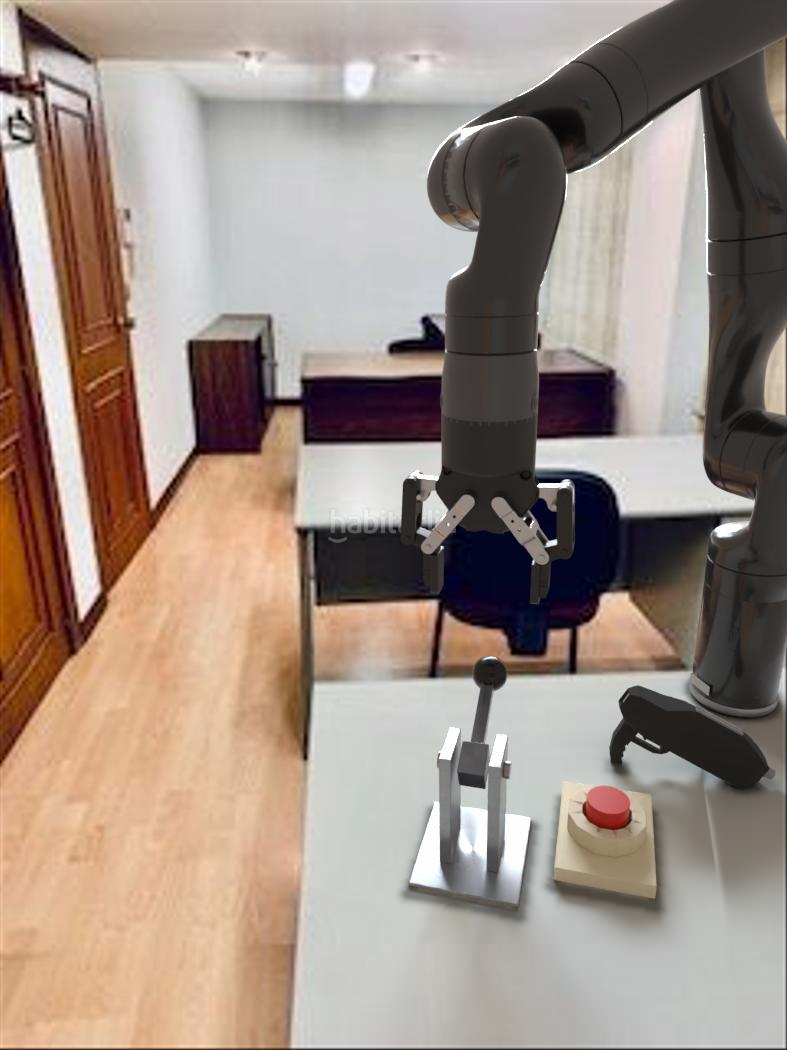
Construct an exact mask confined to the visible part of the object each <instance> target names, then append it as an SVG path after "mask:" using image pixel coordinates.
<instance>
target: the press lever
mask: <svg viewBox="0 0 787 1050" xmlns="http://www.w3.org/2000/svg"><path fill="white" fill-rule="evenodd" d="M471 675H472V680H473V683H474V684H475V685H476V686H477V687H478V688H479V693H478V699H477V705H476V710H475V715H474V721H473V726H472V731H471V736H470V741H469V740H468V741H467V740H462V741H461V752H460V758H459V763H458V768H457V774H458V780H459V785H461V787H462V786H463V787H468V788H476V789H481V790H486V788H487V783H488V766H489V762H490V758H491V751H490V744H489V743H486V740H487V736H488V735H487V733H488V728H489V722H490V717H491V711H492V703H493V697H494V692H496V691H498V690H500V689H502V688H503V687H504V686H505V685H506V682H507V680H508V678H509V677H508V675H509V673H508V668H507V665H506V663H504V661H503V660H502V659H501V658H499V657H497V656H494V655H485V656H481V657H480V658H479V659H477V660H476V661H475V663H474V664H473V667H472V670H471Z"/></svg>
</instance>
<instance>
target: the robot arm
mask: <svg viewBox="0 0 787 1050" xmlns="http://www.w3.org/2000/svg"><path fill="white" fill-rule="evenodd" d="M784 39H787V0H671V1H669V2H667V3H666V4H665V3H664V4H663V5H662V6H660V7H658V8H656V9H654V10H652V11H650V12H648V13H645V14H644V15H642V16H640V17H638V18H636V19H634V20H632V21H631V22H629V23H627V24H626V25H623V26H621V27H620V28H618V29H616V30H614V31H613V32H611V33H610V34H608V35H606V36H604V37H603V38H601V39H599V40H597V41H596V42H595V43H594V44H592V45H591V46H589V47H588V48H587V49H585V50H583V51H582V52H581V53H579V54H578V55H576V56H575V57H574V58H572V59H571V60H570V61H568V62H566V63H565V64H564V65H562V66H561V67H559V68H558V69H557V70H555V71H554V72H553V73H551V75H549V76H548V78H546V79H545V80H543V81H542V82H540V83H539V84H537V85H536V86H533V88H530V89H529V90H527V91H525V92H523V93H521V94H520V95H517V96H515V97H512V98H510V99H508V100H507V101H505V102H504V103H502V104H500V105H497V106H496V107H494V108H492V109H490V110H488V111H486V112H485V113H482V114H481V115H479V116H477V117H476V118H474V119H472V120H471V121H468V122H467V123H466V124H464V125H462V126H461V127H459V128H457V130H455V131H454V132H452V133H451V134H450V135H448V137H447V138H446V139H445V140H444V141H443V142H442V143H441V144H440V145H439V147H437V150H436V151H435V153H434V155H433V156H432V159H431V161H430V164H429V166H428V171H427V176H426V195H427V198H428V201H429V205H430V207H431V208H432V210H433V212H434V214H435V215H436V216H437V217H438V218H439V219H440V220H441V221H442V222H443V223H444V224H446V225H447V226H449V227H451V228H453V229H455V230H459V231H462V232H470V233H477V234H476V239H475V244H474V249H473V254H472V258H471V261H470V263H469V265H468V266H466V267H464V268H462V269H460V270H458V271H456V272H454V273H453V274H452V275H451V276H450V277H449V279H448V281H447V284H446V288H445V296H444V358H443V365H442V374H441V386H440V387H441V389H440V390H441V391H440V395H439V402H440V404H439V406H440V409H441V413H440V414H441V418H440V419H441V421H440V422H441V424H440V426H441V427H440V428H441V430H440V432H441V433H440V434H441V435H440V436H441V437H440V438H441V439H440V440H441V441H440V442H441V443H440V444H441V449H440V450H441V455H440V456H441V457H440V458H441V461H440V462H441V466H440V467H441V469H440V474H439V476H434V475H426V474H424V473H423V472H422V471H421V470H419V469H416V470H413V471H412V472H411V473H410V474H409V475H407V477H406V478H405V479H404V480H403V482H402V494H401V495H402V496H401V516H400V517H401V519H400V541H401V543H402V544H403V545H404V546H414V547H416V548H418V549H419V550H420V551H421V553H422V567H423V568H422V569H423V570H422V571H423V573H422V575H423V577H422V580H423V583H424V585H425V587H429V592H430V594H436V595H439V594H440V593H441V591H442V589H443V587H444V583H445V555H444V554H445V546H443V545H442V543H443V541H445V540H446V539H447V537H448V536H449V535H450V534H451V533H452V532H453V530H454V529H455V528H456V527H457V526H458V525H459V526H460V527H462V528H463V529H465V532H473V533H476V532H481V531H485V532H489V533H492V534H496V535H498V534H499V535H504V534H505V532H509V531H510V532H511V534H512V535H513V536H514V538H515V539H516V540H517V542H518V544H519V545H521V546H523V547H524V549H526V551H527V552H528V553H529V555H530V556H531V558H532V562H531V568H530V571H531V573H530V593H529V604H531V605H539V604H540V601H541V599H546V597H547V595H548V594H549V590H550V586H551V585H550V584H551V568H552V563H553V561H556V560H560V559H562V560H569V559H571V557H572V555H573V552H574V548H575V543H576V538H575V537H576V531H575V530H576V529H575V526H576V525H575V524H576V519H575V517H576V515H575V514H576V513H575V512H576V510H575V509H576V508H575V506H576V505H575V503H576V500H575V499H576V493H575V491H576V489H575V488H576V487H575V483H574V482H573V480H571V479H569V478H568V479H567V478H566V479H563V480H561V481H560V483H540V481H539V480H538V477H537V473H536V460H537V440H538V439H537V438H538V418H539V397H540V396H539V393H540V374H539V372H540V371H539V361H538V349H537V348H538V344H539V343H538V342H539V341H538V340H539V339H538V338H539V319H540V313H539V312H540V308H539V307H540V292H541V290H542V289H541V288H542V285H543V283H544V279H545V276H546V273H547V271H548V267H549V263H550V260H551V257H552V252H553V249H554V245H555V242H556V238H557V234H558V230H559V227H560V223H561V219H562V216H563V212H564V208H565V205H566V204H565V203H566V197H567V190H568V189H567V188H568V175H571V174H575V173H577V172H581V171H584V170H587V169H589V168H591V167H593V166H594V165H596V164H598V163H600V162H601V161H603V160H604V159H606V158H607V157H608V156H610V155H611V154H612V153H614V152H615V151H617V150H618V149H619V148H620V147H622V146H623V145H624V144H626V143H627V142H629V140H631V139H632V138H633V137H635V136H636V135H638V134H639V133H640V132H641V131H643V130H644V129H646V128H647V127H648V126H649V125H651V124H652V123H653V122H654V121H656V120H657V119H658V118H660V117H661V116H663V115H664V114H665V113H666V112H668V111H669V110H671V109H672V108H673V107H675V106H676V105H678V104H679V103H680V102H681V101H683V100H684V99H686V98H687V97H689V96H691V95H692V94H693V93H695V92H696V91H699V99H700V108H701V117H702V119H701V120H702V130H703V132H702V133H703V145H704V146H703V147H704V166H705V167H704V168H705V170H704V171H705V190H706V192H705V193H706V229H705V231H706V232H705V238H706V239H705V243H706V244H705V245H706V247H705V248H706V249H705V250H706V278H707V293H708V294H707V295H708V361H707V362H708V363H707V364H708V366H707V367H708V368H707V381H706V395H705V407H704V418H703V428H702V443H701V444H702V445H701V449H702V451H701V452H702V453H701V455H702V464H703V465H702V466H703V468H704V472H705V475H706V477H707V479H708V480H709V481H710V483H711V484H712V485H713V486H715V487H716V488H718V489H720V490H722V491H724V492H726V493H729V494H732V495H735V496H737V497H738V496H739V497H741V498H743V499H744V498H745V499H747V500H750V501H753V502H754V504H753V508H752V512H751V516H750V519H749V520H743V521H742V520H741V521H734V522H727V523H724V524H720V525H719V526H716V527H715V528H714V529H713V530H712V531H711V533H710V536H709V539H708V545H707V554H706V562H705V563H706V564H705V570H704V571H705V572H704V579H703V586H702V587H703V588H702V595H701V602H700V610H699V616H698V617H699V619H698V626H697V633H696V640H695V641H696V642H695V649H694V656H693V664H692V670H691V671H692V672H690V677H689V692H690V694H691V695H692V697H693V698H694V699H695V700H696V701H698V702H699V703H700V704H701V705H703V706H705V707H706V708H708V709H711V710H712V711H714V712H717V713H720V714H724V715H728V716H732V717H737V718H759V717H763V716H767V715H769V714H770V713H772V712H773V711H775V710H776V708H777V706H778V703H779V701H778V700H779V690H780V685H781V678H782V673H783V669H784V662H785V657H786V650H787V414H783V413H778V412H774V411H768V410H767V408H766V401H765V396H766V395H765V391H766V390H765V389H766V377H767V376H766V375H767V368H768V363H769V360H770V357H771V354H772V352H773V350H774V348H775V346H776V344H777V342H778V341H779V339H780V338H781V336H782V334H783V333H784V332H785V330H786V328H787V139H786V137H785V136H784V134H783V132H782V130H781V129H780V127H779V125H778V122H777V121H776V119H775V116H774V113H773V110H772V106H771V103H770V98H769V93H768V81H767V67H766V48H768V47H770V46H771V45H773V44H776V43H778V42H779V41H782V40H784ZM434 491H435V492H436V495H437V497H438V498H439V499H440V500H441V502H442V503H443V505H444V507H446V509H447V511H446V512H445V514H444V515H443V516H442V517H441V518H440V519H439V521H438V522H437V524H435V526H434V527H433V528H432V529H431V530H428V529H426V528H423V510H424V508H423V507H424V505H423V504H424V502H425V501H427V500H428V498H430V496H431V493H432V492H434ZM539 499H543V500H544V501H545V502H546V505H547V508H548V510H550V512H554V513H555V512H556V539H552V540H549V539H548V537H547V536H546V535H545V532H543V530H542V529H541V528H540V525H539V522H538V520H537V519H536V518H535V516H534V515H533V514H532V512H531V511H530V510H531V509H532V508H533V506H534V505H535V504H536V503H537V502H538V500H539Z"/></svg>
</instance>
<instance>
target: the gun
mask: <svg viewBox="0 0 787 1050" xmlns="http://www.w3.org/2000/svg"><path fill="white" fill-rule="evenodd" d="M618 707H619V711H620V714H621V715H622V719H621V720H620V722H618V725H617V726H616V727H615V729H614V731H613V732H612V735H611V738H610V743H609V746H608V748H609V750H608V751H609V759H610V764H618V765H622V764H623V760H622V759H623V758H624V752H626V750H627V749H626V748H627V747H626V746H629V744H631V743H633V744H634V745H637V746H638V747H641V748H642V749H644V750H646V751H648V752H650V753H652V754H655V755H656V754H657V755H664V754H665V755H666V754H668V753H672V754H674V755H675V756H677V757H679V758H681V759H683V760H685V761H686V762H688V763H690V764H692V765H694V766H696V767H698V768H700V769H701V770H703V771H705V772H707V773H709V774H711V775H713V776H715V778H719V779H720V780H722V781H724V782H725V783H728V784H729V785H731V786H733V787H734V788H737V789H739V790H740V791H741V790H749V789H753V788H754V787H755V786H756V785H757V784H758V783H759V782H760V780H761V779H762V778H764V779H768V780H773V779H775V777H776V775H777V772H776V770H775V769H774V768H773V767H772V766H770V765H769V764H768V761H767V757H765V756H766V755H765V754H764V753H763V752H762V750H761V749H760V747H759V745H758V744H757V743H756V741H754V740H753V738H752V737H750V735H748V733H746V732H744V731H743V729H742V728H740V727H738V726H736V725H735V724H733V723H731V722H729V721H727V720H726V719H724V718H721V717H720V716H718V715H716V714H714V713H712V712H710V711H708V710H707V709H705V708H703V707H701V706H699V705H694V704H692V703H690V702H688V701H686V700H683V699H679V698H676V697H674V696H669V695H666V694H663V693H660V692H658V691H655V690H653V689H649V688H647V687H644V686H641V685H639V684H638V685H634V686H631V687H627V688H626V690H625V691H624V693H623V694H622V695H621V697H620V698H619V699H618ZM638 734H639V735H640V736H641V737H642V738H640V737H638V736H637V735H638ZM648 741H649V742H651V743H653V744H651V743H649V742H648ZM654 744H655V745H656V746H655V745H654ZM658 746H659V747H658Z"/></svg>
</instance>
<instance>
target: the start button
mask: <svg viewBox="0 0 787 1050" xmlns="http://www.w3.org/2000/svg"><path fill="white" fill-rule="evenodd" d="M596 786H597V787H594V788H592V789H591V790H590V791H589V792H588V794H587V799H586V817H587V819H588V820H589V821H590V822H591V823H592V824H594V825H595V826H597V827H599V828H603V829H609V830H618V829H622V828H623V827H625V826H626V825H627V823H628V820H629V810H630V800H629V798H628V796H627V795H626V794H625V793H624V792H622V791H621V790H622V789H620V788H617V787H614V786H612V785H611V786H610V785H596Z"/></svg>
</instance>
